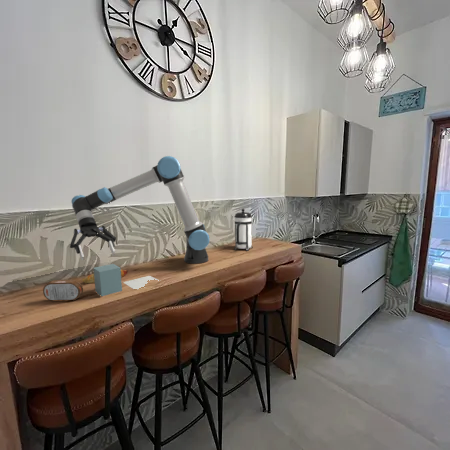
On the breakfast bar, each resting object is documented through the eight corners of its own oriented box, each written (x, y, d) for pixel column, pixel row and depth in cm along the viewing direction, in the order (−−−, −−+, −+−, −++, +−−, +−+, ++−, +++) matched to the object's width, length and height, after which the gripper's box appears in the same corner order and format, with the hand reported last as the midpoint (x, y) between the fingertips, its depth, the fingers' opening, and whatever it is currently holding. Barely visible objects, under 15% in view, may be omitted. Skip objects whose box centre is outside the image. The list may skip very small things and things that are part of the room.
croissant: (83, 293, 125) (82, 281, 121) (80, 278, 132) (79, 266, 128) (129, 282, 137) (130, 271, 132) (124, 269, 143) (125, 258, 139)
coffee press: (229, 248, 199) (228, 208, 195) (248, 246, 204) (248, 207, 200) (237, 253, 183) (236, 210, 179) (258, 251, 187) (258, 209, 183)
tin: (84, 298, 110) (82, 278, 109) (80, 301, 107) (78, 281, 106) (47, 299, 110) (45, 280, 108) (42, 302, 106) (40, 282, 105)
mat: (149, 276, 136) (149, 275, 136) (163, 282, 126) (163, 282, 126) (122, 283, 127) (122, 282, 127) (135, 290, 117) (134, 289, 117)
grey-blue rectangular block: (115, 286, 122) (113, 263, 121) (122, 291, 116) (120, 267, 115) (95, 291, 117) (93, 267, 115) (101, 297, 110) (99, 271, 109)
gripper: (110, 223, 141) (123, 255, 132) (56, 228, 125) (67, 265, 116) (113, 214, 137) (127, 246, 128) (58, 218, 120) (69, 255, 111)
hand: (98, 255), depth 122 cm, fingers open, 13 cm apart
